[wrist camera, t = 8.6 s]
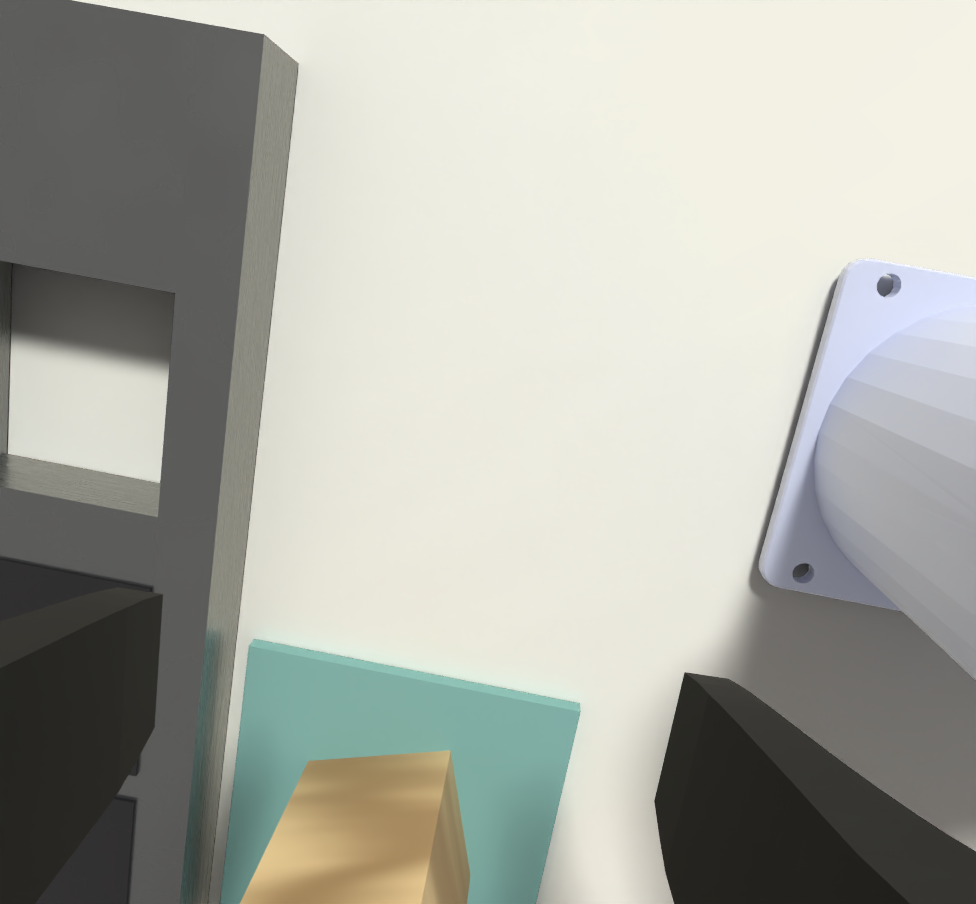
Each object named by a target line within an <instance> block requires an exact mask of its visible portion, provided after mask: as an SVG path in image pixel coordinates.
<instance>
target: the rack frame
mask: <svg viewBox="0 0 976 904" xmlns="http://www.w3.org/2000/svg"><path fill="white" fill-rule="evenodd" d="M297 72H298V63H297V62H296V61H295V60H294V59H292V58H291V57H290V56H289V55H288V54H287V53H285V52H284V51H283V50H282V49H281V48H280V47H278V46H277V45H276V44H275V43H274V42H273V41H271V40H270V39H269V38H268V37H267V36H265V35H264V34H259V33H253V32H247V31H242V30H236V29H230V28H225V27H219V26H213V25H208V24H202V23H196V22H191V21H185V20H179V19H174V18H168V17H162V16H157V15H151V14H145V13H140V12H134V11H128V10H123V9H117V8H111V7H106V6H100V5H94V4H89V3H83V2H77V1H72V0H0V622H1V621H4V620H7V619H10V618H13V617H16V616H19V615H22V614H25V613H29V612H32V611H35V610H38V609H41V608H44V607H47V606H50V605H54V604H57V603H60V602H63V601H66V600H70V599H73V598H76V597H80V596H83V595H87V594H90V593H94V592H98V591H102V590H107V589H112V588H118V587H119V588H126V589H133V590H139V591H146V592H153V593H159V594H163V603H162V619H161V634H160V650H159V666H158V682H157V697H156V713H155V728H154V730H153V732H152V733H151V735H150V737H149V739H148V741H147V743H146V745H145V746H144V748H143V750H142V752H141V754H140V756H139V757H138V759H137V761H136V763H135V765H134V766H133V768H132V770H131V772H130V773H129V775H128V777H127V778H126V780H125V782H124V783H123V785H122V787H121V789H120V790H119V792H118V794H117V795H116V796H115V798H114V799H113V800H112V802H111V803H110V805H109V806H108V807H107V809H106V810H105V811H104V813H103V814H102V815H101V817H100V818H99V819H98V821H97V822H96V823H95V825H94V826H93V828H92V829H91V830H90V832H89V833H88V834H87V836H86V837H85V838H84V840H83V841H82V842H81V844H80V845H79V846H78V848H77V849H76V850H75V852H74V853H73V854H72V856H71V857H70V858H69V859H68V861H67V862H66V863H65V865H64V866H63V867H62V869H61V870H60V871H59V873H58V874H57V875H56V877H55V878H54V879H53V881H52V882H51V883H50V885H49V886H48V887H47V888H46V890H45V891H44V892H43V894H42V895H41V896H40V898H39V899H38V900H37V902H36V903H35V904H208V896H209V887H210V878H211V868H212V859H213V850H214V841H215V831H216V822H217V813H218V803H219V794H220V785H221V776H222V766H223V757H224V748H225V739H226V729H227V720H228V711H229V702H230V692H231V683H232V674H233V665H234V655H235V646H236V637H237V628H238V618H239V609H240V600H241V591H242V581H243V572H244V563H245V554H246V544H247V535H248V526H249V516H250V507H251V498H252V489H253V479H254V470H255V461H256V452H257V442H258V433H259V424H260V415H261V405H262V396H263V387H264V378H265V368H266V359H267V350H268V341H269V331H270V322H271V313H272V304H273V294H274V285H275V276H276V267H277V257H278V248H279V239H280V229H281V220H282V211H283V202H284V192H285V183H286V174H287V165H288V155H289V146H290V137H291V128H292V118H293V109H294V100H295V91H296V81H297ZM12 263H16V264H21V265H26V266H32V267H37V268H43V269H48V270H53V271H59V272H64V273H69V274H75V275H80V276H85V277H91V278H96V279H102V280H107V281H112V282H118V283H123V284H128V285H134V286H139V287H145V288H150V289H155V290H161V291H166V292H171V293H175V302H174V315H173V328H172V341H171V354H170V367H169V379H168V392H167V405H166V418H165V431H164V444H163V457H162V470H161V482H160V483H155V482H150V481H145V480H139V479H134V478H129V477H124V476H119V475H114V474H108V473H103V472H98V471H93V470H88V469H83V468H77V467H72V466H67V465H62V464H57V463H51V462H46V461H41V460H36V459H31V458H26V457H20V456H15V455H10V454H7V427H8V390H9V353H10V315H11V278H12Z"/></svg>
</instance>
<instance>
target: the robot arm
mask: <svg viewBox="0 0 976 904" xmlns="http://www.w3.org/2000/svg"><path fill="white" fill-rule="evenodd" d="M885 274H887V275H889V276H891V278H892V280H893V289H892V290H891V292H890V293H889V294H888V295H886V296H884V297H883V296H881V295H880V294H879V293H878V291H877V283H878V281H879V279H880V278H881V277H882V276H884V275H885ZM804 563H807V564H809V570H808V572H807V573H806V574H805V575H804V576H802V577H794V576H793V570H794V568H795V567H796V566H797V565H799V564H804ZM759 570H760V573H761V575H762V576H763V578H764V579H765V580H766V581H767V582H768V583H769V584H770V585H772V586H775V587H777V588H783V589H788V590H793V591H798V592H803V593H809V594H814V595H819V596H824V597H829V598H835V599H840V600H845V601H850V602H855V603H860V604H866V605H871V606H876V607H881V608H886V609H892V610H897V611H902V612H903V613H905V614H906V615H907V616H908V617H909V618H910V619H911V620H912V621H913V622H914V623H915V624H916V625H917V626H918V627H919V628H920V629H921V630H923V631H924V632H925V633H926V634H927V635H928V636H929V637H930V638H931V639H932V640H933V641H934V642H935V643H936V644H937V645H938V646H940V647H941V648H942V649H943V650H944V651H945V652H946V653H947V654H948V655H949V656H950V657H951V658H952V659H953V660H954V661H955V662H956V663H958V664H959V665H960V666H961V667H962V668H963V669H964V670H965V671H966V672H967V673H968V674H969V675H970V676H971V677H972V678H973V679H974V680H976V277H970V276H965V275H959V274H954V273H948V272H942V271H937V270H931V269H926V268H920V267H915V266H909V265H904V264H898V263H893V262H887V261H882V260H876V259H857V260H855V261H853V262H850V263H849V264H848V265H847V266H846V267H845V268H843V270H842V272H841V274H840V276H839V278H838V282H837V285H836V289H835V292H834V296H833V299H832V303H831V306H830V310H829V314H828V317H827V321H826V324H825V328H824V331H823V335H822V338H821V342H820V346H819V349H818V353H817V356H816V360H815V363H814V367H813V370H812V374H811V378H810V381H809V385H808V388H807V392H806V395H805V399H804V402H803V406H802V410H801V413H800V417H799V420H798V424H797V427H796V431H795V435H794V438H793V442H792V445H791V449H790V452H789V456H788V459H787V463H786V467H785V470H784V474H783V477H782V481H781V484H780V488H779V491H778V495H777V499H776V502H775V506H774V509H773V513H772V516H771V520H770V523H769V527H768V531H767V534H766V538H765V541H764V545H763V548H762V552H761V555H760V559H759ZM162 603H163V594H159V593H153V592H146V591H139V590H133V589H126V588H119V587H118V588H112V589H107V590H102V591H98V592H94V593H90V594H87V595H83V596H80V597H76V598H73V599H70V600H66V601H63V602H60V603H57V604H54V605H50V606H47V607H44V608H41V609H38V610H35V611H32V612H29V613H25V614H22V615H19V616H16V617H13V618H10V619H7V620H4V621H1V622H0V904H35V903H36V902H37V900H38V899H39V898H40V896H41V895H42V894H43V892H44V891H45V890H46V888H47V887H48V886H49V885H50V883H51V882H52V881H53V879H54V878H55V877H56V875H57V874H58V873H59V871H60V870H61V869H62V867H63V866H64V865H65V863H66V862H67V861H68V859H69V858H70V857H71V856H72V854H73V853H74V852H75V850H76V849H77V848H78V846H79V845H80V844H81V842H82V841H83V840H84V838H85V837H86V836H87V834H88V833H89V832H90V830H91V829H92V828H93V826H94V825H95V823H96V822H97V821H98V819H99V818H100V817H101V815H102V814H103V813H104V811H105V810H106V809H107V807H108V806H109V805H110V803H111V802H112V800H113V799H114V798H115V796H116V795H117V794H118V792H119V790H120V789H121V787H122V785H123V783H124V782H125V780H126V778H127V777H128V775H129V773H130V772H131V770H132V768H133V766H134V765H135V763H136V761H137V759H138V757H139V756H140V754H141V752H142V750H143V748H144V746H145V745H146V743H147V741H148V739H149V737H150V735H151V733H152V732H153V730H154V728H155V713H156V697H157V682H158V666H159V650H160V634H161V619H162ZM655 808H656V815H657V822H658V829H659V836H660V843H661V849H662V854H663V860H664V866H665V872H666V876H667V879H668V883H669V886H670V890H671V893H672V897H673V900H674V904H976V851H974V850H972V849H971V848H969V847H967V846H966V845H964V844H962V843H961V842H959V841H957V840H956V839H954V838H952V837H951V836H949V835H947V834H946V833H944V832H943V831H941V830H940V829H938V828H936V827H935V826H933V825H932V824H930V823H929V822H927V821H926V820H924V819H922V818H921V817H919V816H918V815H916V814H915V813H914V812H912V811H911V810H909V809H908V808H906V807H905V806H903V805H902V804H900V803H899V802H898V801H896V800H895V799H893V798H892V797H890V796H889V795H887V794H886V793H885V792H883V791H882V790H880V789H879V788H877V787H876V786H874V785H873V784H872V783H870V782H869V781H867V780H866V779H865V778H863V777H862V776H860V775H859V774H858V773H856V772H855V771H854V770H852V769H851V768H849V767H848V766H847V765H845V764H844V763H843V762H841V761H840V760H839V759H837V758H836V757H835V756H833V755H832V754H831V753H829V752H828V751H827V750H825V749H824V748H823V747H821V746H820V745H819V744H818V743H816V742H815V741H814V740H812V739H811V738H810V737H808V736H807V735H806V734H804V733H803V732H802V731H801V730H799V729H798V728H797V727H795V726H794V725H793V724H791V723H790V722H789V721H788V720H786V719H785V718H784V717H782V716H781V715H780V714H778V713H777V712H776V711H774V710H773V709H772V708H771V707H769V706H768V705H767V704H765V703H764V702H762V701H761V700H760V699H758V698H757V697H756V696H754V695H753V694H751V693H750V692H749V691H747V690H746V689H744V688H743V687H741V686H740V685H738V684H736V683H735V682H733V681H731V680H729V679H725V678H719V677H712V676H705V675H699V674H692V673H684V677H683V682H682V686H681V690H680V694H679V699H678V703H677V707H676V711H675V716H674V720H673V724H672V729H671V733H670V737H669V741H668V746H667V750H666V754H665V758H664V763H663V767H662V771H661V776H660V780H659V784H658V788H657V793H656V797H655Z"/></svg>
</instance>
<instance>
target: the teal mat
mask: <svg viewBox="0 0 976 904" xmlns="http://www.w3.org/2000/svg"><path fill="white" fill-rule="evenodd" d="M579 716H580V703H575V702H570V701H565V700H560V699H555V698H550V697H545V696H540V695H535V694H530V693H524V692H519V691H514V690H509V689H504V688H499V687H494V686H489V685H484V684H479V683H474V682H469V681H464V680H459V679H454V678H449V677H444V676H439V675H434V674H429V673H423V672H418V671H413V670H408V669H403V668H398V667H393V666H388V665H383V664H378V663H373V662H368V661H363V660H358V659H353V658H348V657H343V656H338V655H333V654H328V653H323V652H317V651H312V650H307V649H302V648H297V647H292V646H287V645H282V644H277V643H272V642H267V641H262V640H257V639H254V640H253V642H252V643H251V644H250V645H249V651H248V660H247V668H246V677H245V686H244V695H243V704H242V713H241V722H240V731H239V739H238V748H237V757H236V766H235V775H234V784H233V793H232V802H231V810H230V819H229V828H228V837H227V846H226V855H225V864H224V873H223V881H222V890H221V899H220V904H240V902H241V900H242V898H243V896H244V894H245V892H246V890H247V888H248V886H249V884H250V881H251V879H252V877H253V875H254V873H255V871H256V869H257V867H258V865H259V863H260V861H261V858H262V856H263V854H264V852H265V850H266V848H267V846H268V844H269V842H270V840H271V838H272V836H273V833H274V831H275V829H276V827H277V825H278V823H279V821H280V819H281V817H282V815H283V813H284V811H285V808H286V806H287V804H288V802H289V800H290V798H291V796H292V794H293V792H294V790H295V788H296V786H297V783H298V781H299V779H300V777H301V775H302V773H303V771H304V769H305V767H306V765H307V763H308V761H314V760H327V759H341V758H354V757H368V756H381V755H395V754H408V753H422V752H436V751H449V750H451V755H452V762H453V768H454V774H455V781H456V787H457V793H458V800H459V806H460V812H461V818H462V825H463V831H464V837H465V844H466V850H467V856H468V863H469V869H470V883H469V892H468V900H467V904H536V900H537V896H538V892H539V888H540V883H541V879H542V875H543V870H544V866H545V862H546V858H547V853H548V849H549V845H550V840H551V836H552V832H553V827H554V823H555V819H556V815H557V810H558V806H559V802H560V797H561V793H562V789H563V784H564V780H565V776H566V772H567V767H568V763H569V759H570V754H571V750H572V746H573V742H574V737H575V733H576V729H577V724H578V720H579Z"/></svg>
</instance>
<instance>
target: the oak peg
mask: <svg viewBox="0 0 976 904" xmlns="http://www.w3.org/2000/svg"><path fill="white" fill-rule="evenodd" d="M469 883H470V869H469V863H468V856H467V850H466V844H465V837H464V831H463V825H462V818H461V812H460V806H459V800H458V793H457V787H456V781H455V774H454V768H453V762H452V755H451V750H449V751H436V752H422V753H408V754H395V755H381V756H368V757H354V758H341V759H327V760H314V761H308V763H307V765H306V767H305V769H304V771H303V773H302V775H301V777H300V779H299V781H298V783H297V786H296V788H295V790H294V792H293V794H292V796H291V798H290V800H289V802H288V804H287V806H286V808H285V811H284V813H283V815H282V817H281V819H280V821H279V823H278V825H277V827H276V829H275V831H274V833H273V836H272V838H271V840H270V842H269V844H268V846H267V848H266V850H265V852H264V854H263V856H262V858H261V861H260V863H259V865H258V867H257V869H256V871H255V873H254V875H253V877H252V879H251V881H250V884H249V886H248V888H247V890H246V892H245V894H244V896H243V898H242V900H241V902H240V904H467V900H468V892H469Z"/></svg>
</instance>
